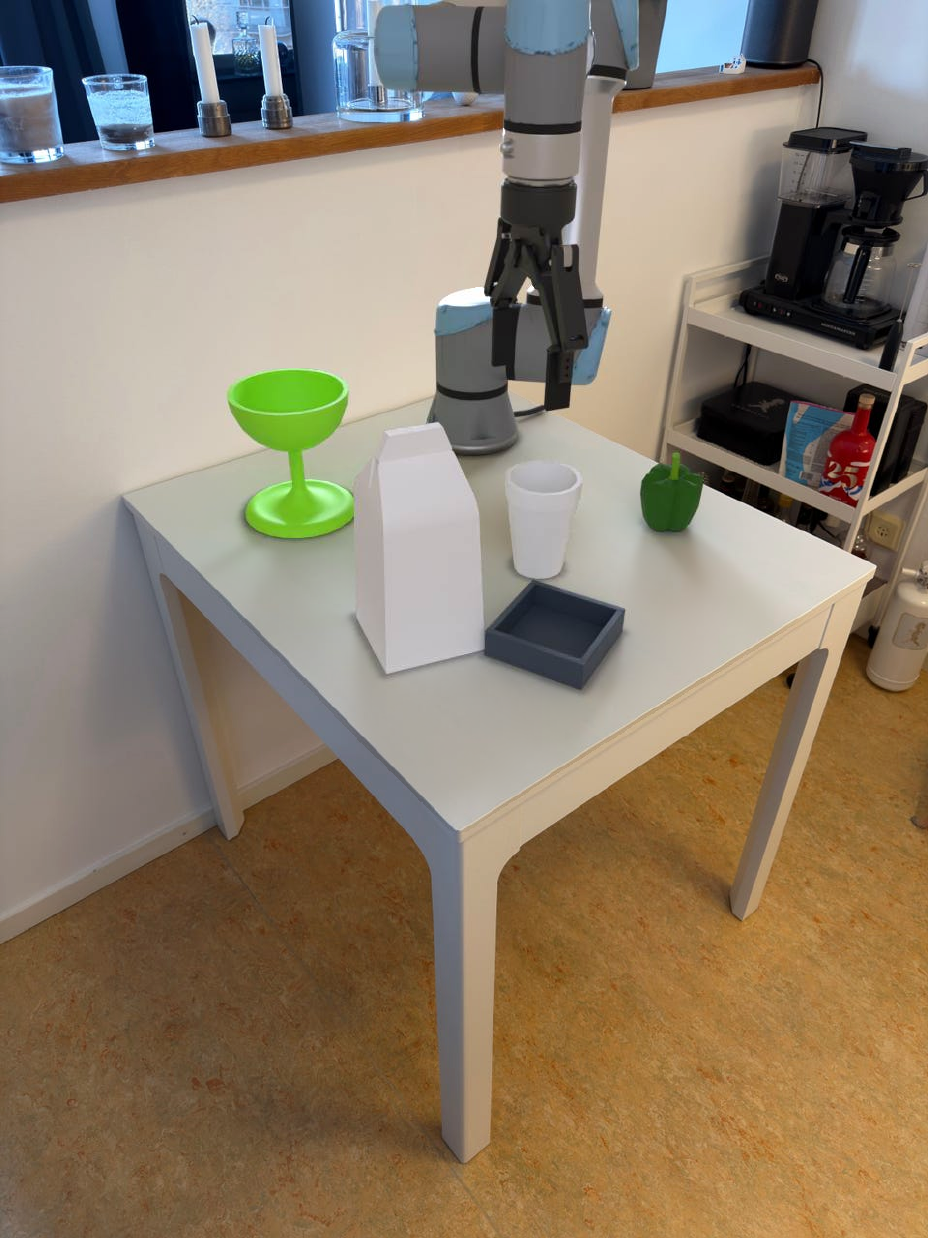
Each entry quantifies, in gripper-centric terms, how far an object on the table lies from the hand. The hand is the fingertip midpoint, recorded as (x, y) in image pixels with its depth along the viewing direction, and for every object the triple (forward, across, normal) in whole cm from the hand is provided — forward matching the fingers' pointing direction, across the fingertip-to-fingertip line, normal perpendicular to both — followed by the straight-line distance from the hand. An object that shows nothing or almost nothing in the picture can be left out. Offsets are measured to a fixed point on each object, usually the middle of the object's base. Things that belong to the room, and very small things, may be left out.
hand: (528, 385), depth 101 cm
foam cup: (+26, -1, +4) cm, 26 cm away
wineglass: (+26, -28, -22) cm, 44 cm away
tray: (+26, +14, -2) cm, 30 cm away
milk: (+26, +6, -16) cm, 31 cm away
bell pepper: (+26, -4, +25) cm, 37 cm away
